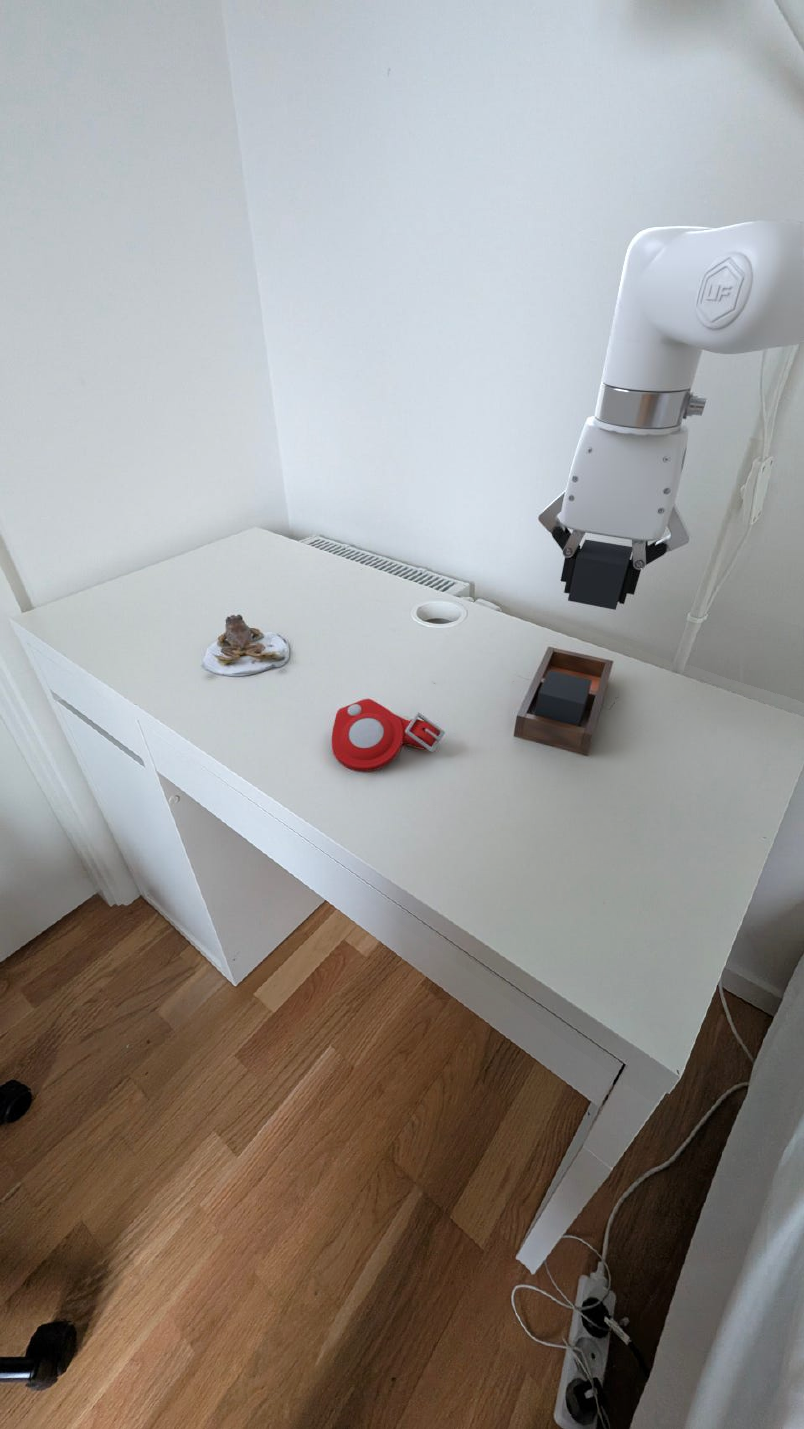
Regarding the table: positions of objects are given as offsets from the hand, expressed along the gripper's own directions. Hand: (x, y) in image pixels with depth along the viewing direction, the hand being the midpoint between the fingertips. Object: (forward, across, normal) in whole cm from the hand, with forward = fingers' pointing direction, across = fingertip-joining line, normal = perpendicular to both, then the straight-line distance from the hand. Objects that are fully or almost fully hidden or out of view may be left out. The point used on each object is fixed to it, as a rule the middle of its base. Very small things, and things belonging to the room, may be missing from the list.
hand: (595, 591), depth 63 cm
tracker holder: (+15, +18, +18) cm, 29 cm away
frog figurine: (+15, +44, +8) cm, 47 cm away
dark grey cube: (+14, 0, +5) cm, 15 cm away
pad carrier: (+15, 0, +2) cm, 15 cm away
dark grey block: (0, 0, 0) cm, 0 cm away
